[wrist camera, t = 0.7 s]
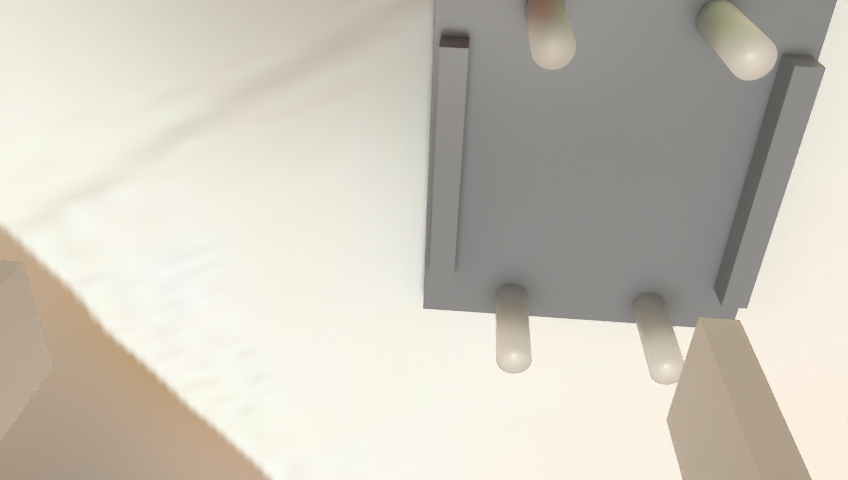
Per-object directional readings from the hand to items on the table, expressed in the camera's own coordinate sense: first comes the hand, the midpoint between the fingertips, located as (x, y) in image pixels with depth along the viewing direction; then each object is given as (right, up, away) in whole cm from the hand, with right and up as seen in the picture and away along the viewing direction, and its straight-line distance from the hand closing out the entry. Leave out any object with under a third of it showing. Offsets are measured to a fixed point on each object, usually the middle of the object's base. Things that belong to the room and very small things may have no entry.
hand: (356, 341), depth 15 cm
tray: (+10, +6, +21) cm, 24 cm away
